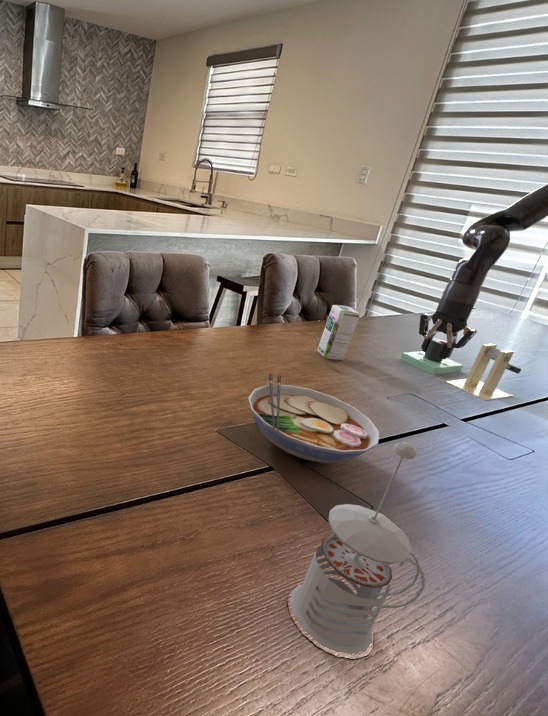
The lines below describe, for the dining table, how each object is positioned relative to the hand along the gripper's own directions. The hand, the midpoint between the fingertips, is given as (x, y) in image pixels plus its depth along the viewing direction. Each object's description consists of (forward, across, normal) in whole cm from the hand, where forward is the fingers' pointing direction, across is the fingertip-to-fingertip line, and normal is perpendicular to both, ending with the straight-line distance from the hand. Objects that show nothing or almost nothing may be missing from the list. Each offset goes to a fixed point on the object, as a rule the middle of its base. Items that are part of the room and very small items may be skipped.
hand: (433, 354), depth 134 cm
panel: (+4, 0, 0) cm, 4 cm away
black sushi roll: (+1, 0, 0) cm, 1 cm away
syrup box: (+5, +16, +24) cm, 29 cm away
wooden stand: (+4, -14, +3) cm, 15 cm away
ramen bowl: (+4, -13, +73) cm, 75 cm away
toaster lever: (-4, -14, -1) cm, 15 cm away
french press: (+4, -39, +100) cm, 108 cm away
